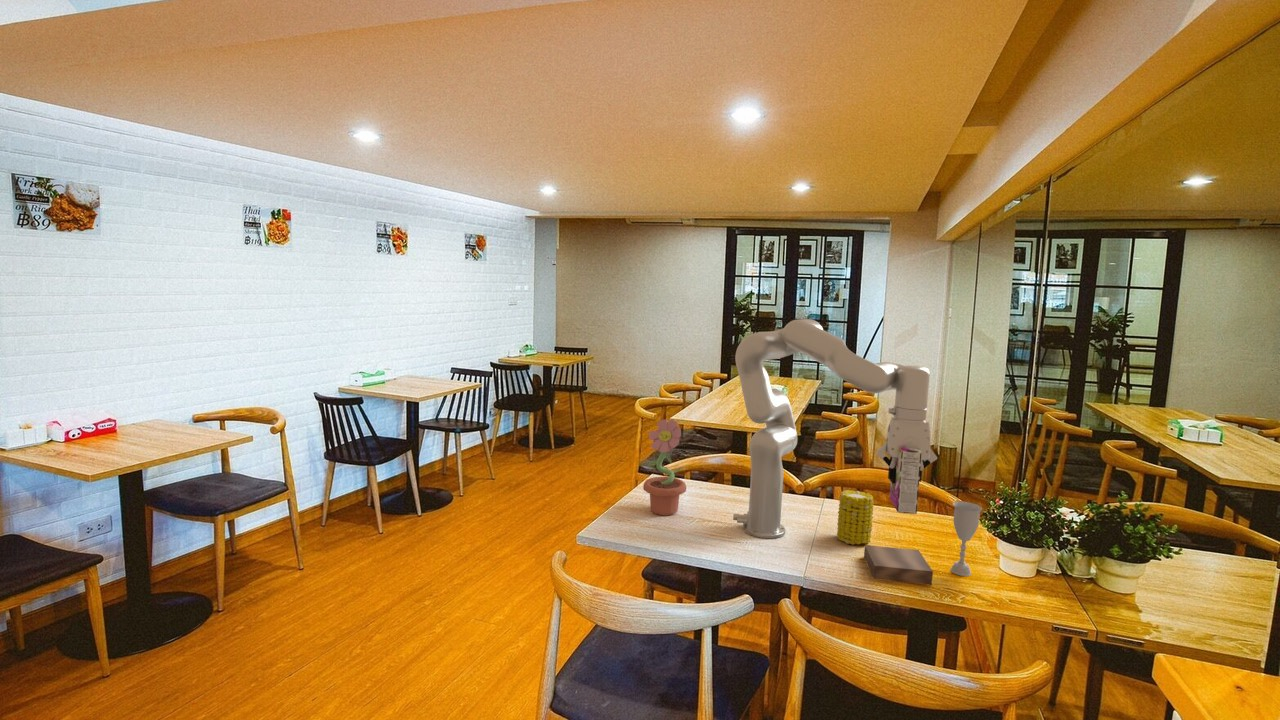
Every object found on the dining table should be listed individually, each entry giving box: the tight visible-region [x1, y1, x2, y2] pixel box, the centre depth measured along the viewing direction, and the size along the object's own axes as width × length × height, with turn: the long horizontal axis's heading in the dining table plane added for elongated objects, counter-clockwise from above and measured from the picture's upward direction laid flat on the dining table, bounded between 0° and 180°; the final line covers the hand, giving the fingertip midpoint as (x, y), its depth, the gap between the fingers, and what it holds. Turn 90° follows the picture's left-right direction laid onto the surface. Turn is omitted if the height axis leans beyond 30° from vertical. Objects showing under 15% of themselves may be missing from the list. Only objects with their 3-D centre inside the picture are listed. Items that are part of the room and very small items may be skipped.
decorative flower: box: [642, 419, 687, 516], centre depth 200 cm, size 15×14×30 cm
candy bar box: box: [889, 447, 922, 515], centre depth 161 cm, size 11×5×16 cm, turn 168°
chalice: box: [950, 501, 983, 577], centre depth 164 cm, size 7×7×18 cm
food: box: [836, 489, 875, 546], centre depth 183 cm, size 15×12×10 cm
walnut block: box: [863, 544, 934, 586], centre depth 164 cm, size 14×13×4 cm
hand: (904, 482), depth 162 cm, fingers closed on candy bar box, 5 cm apart
